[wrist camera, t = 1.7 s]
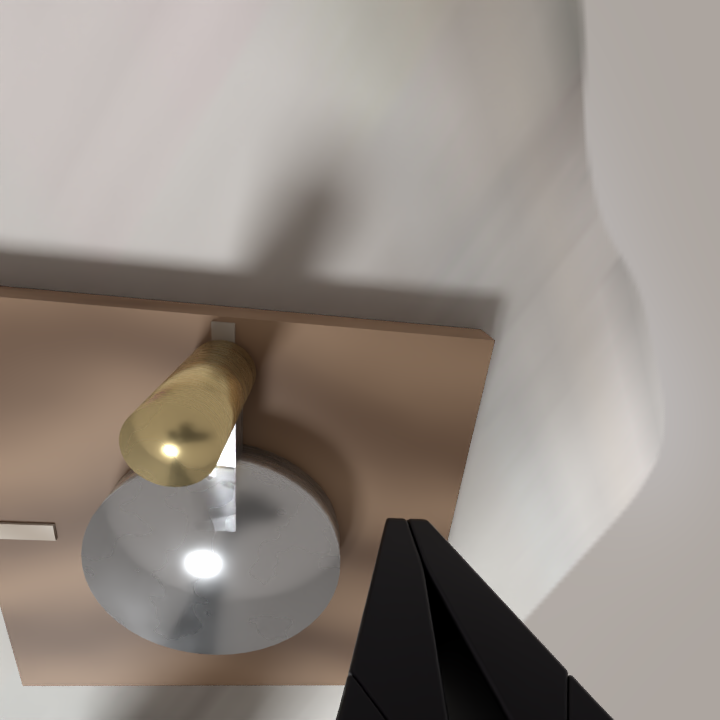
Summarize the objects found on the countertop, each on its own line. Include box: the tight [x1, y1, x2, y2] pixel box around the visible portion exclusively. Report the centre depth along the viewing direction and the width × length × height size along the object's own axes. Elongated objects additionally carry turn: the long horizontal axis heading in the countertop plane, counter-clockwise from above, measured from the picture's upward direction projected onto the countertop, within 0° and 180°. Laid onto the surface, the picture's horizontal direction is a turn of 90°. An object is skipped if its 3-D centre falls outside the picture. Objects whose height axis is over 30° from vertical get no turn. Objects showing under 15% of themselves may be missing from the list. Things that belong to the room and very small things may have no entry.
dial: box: [81, 340, 340, 655], centre depth 14 cm, size 14×10×5 cm
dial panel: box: [0, 286, 495, 686], centre depth 18 cm, size 20×20×2 cm
